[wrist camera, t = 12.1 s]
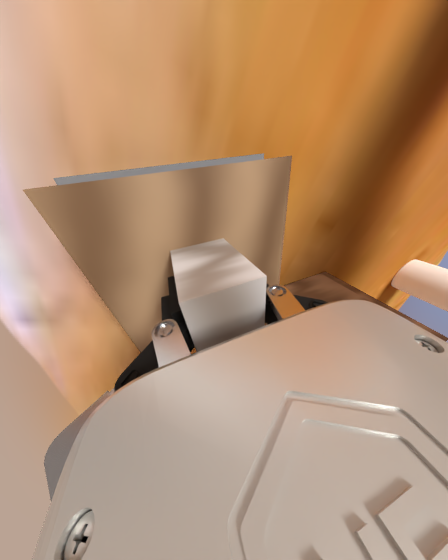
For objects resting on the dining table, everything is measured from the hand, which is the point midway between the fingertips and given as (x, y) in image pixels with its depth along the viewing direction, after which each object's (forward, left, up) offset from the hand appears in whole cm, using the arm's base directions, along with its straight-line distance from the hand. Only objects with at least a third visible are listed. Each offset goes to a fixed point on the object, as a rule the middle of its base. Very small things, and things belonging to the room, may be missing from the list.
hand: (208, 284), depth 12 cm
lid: (0, 0, -2) cm, 2 cm away
